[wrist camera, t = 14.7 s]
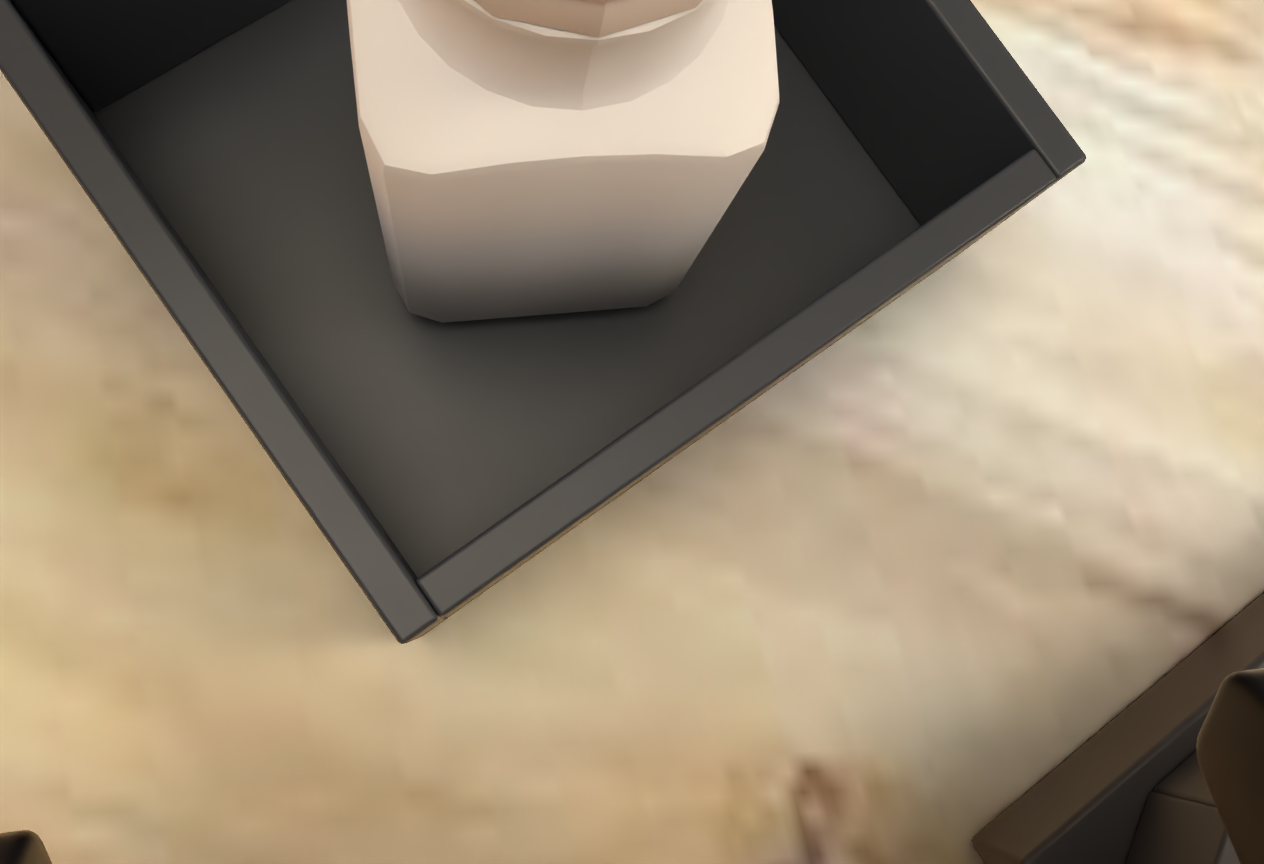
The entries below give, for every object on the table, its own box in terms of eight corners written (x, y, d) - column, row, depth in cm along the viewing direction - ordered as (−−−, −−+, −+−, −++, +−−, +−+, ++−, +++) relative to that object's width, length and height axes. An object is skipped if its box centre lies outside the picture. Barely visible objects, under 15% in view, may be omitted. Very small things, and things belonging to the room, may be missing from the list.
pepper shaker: (648, 52, 18) (847, -567, 8) (681, 314, 17) (931, -43, 8) (375, 66, 17) (266, -587, 8) (399, 336, 17) (314, -21, 7)
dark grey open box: (416, 639, 17) (401, 646, 13) (53, 118, 17) (-71, -32, 13) (957, 254, 19) (1089, 157, 15) (621, -204, 19) (662, -418, 15)
